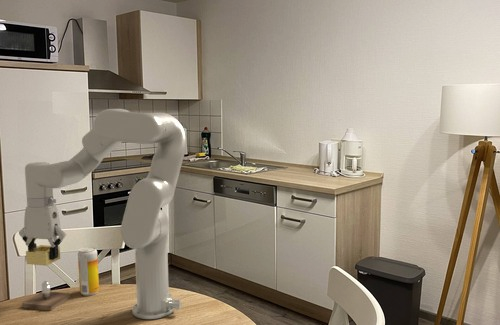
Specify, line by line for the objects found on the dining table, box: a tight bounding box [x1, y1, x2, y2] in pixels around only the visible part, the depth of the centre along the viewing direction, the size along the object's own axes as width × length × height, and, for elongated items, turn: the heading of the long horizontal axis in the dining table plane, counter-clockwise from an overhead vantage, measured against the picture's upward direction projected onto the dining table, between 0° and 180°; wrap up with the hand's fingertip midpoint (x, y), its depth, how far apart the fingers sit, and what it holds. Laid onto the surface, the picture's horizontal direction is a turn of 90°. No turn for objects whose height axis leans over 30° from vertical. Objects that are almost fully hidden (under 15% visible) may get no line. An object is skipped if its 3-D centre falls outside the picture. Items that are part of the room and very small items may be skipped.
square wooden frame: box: [25, 244, 61, 266], centre depth 149 cm, size 7×7×4 cm
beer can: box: [77, 246, 100, 297], centre depth 158 cm, size 6×6×15 cm
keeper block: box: [22, 280, 71, 312], centre depth 150 cm, size 10×10×7 cm
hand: (43, 257), depth 149 cm, fingers closed on square wooden frame, 7 cm apart
